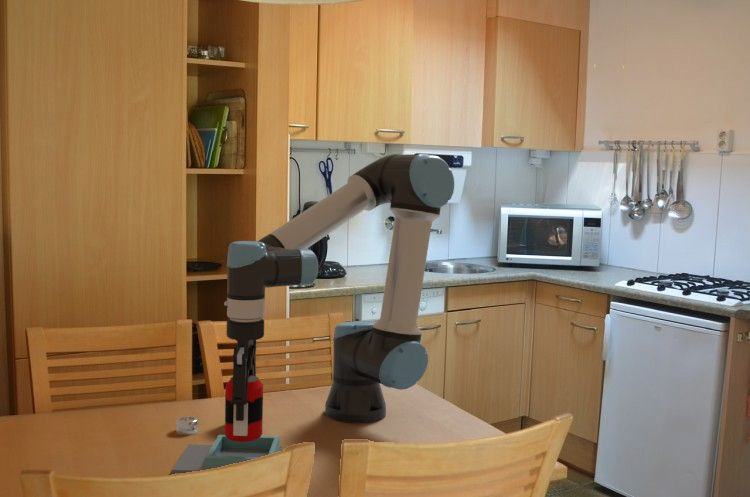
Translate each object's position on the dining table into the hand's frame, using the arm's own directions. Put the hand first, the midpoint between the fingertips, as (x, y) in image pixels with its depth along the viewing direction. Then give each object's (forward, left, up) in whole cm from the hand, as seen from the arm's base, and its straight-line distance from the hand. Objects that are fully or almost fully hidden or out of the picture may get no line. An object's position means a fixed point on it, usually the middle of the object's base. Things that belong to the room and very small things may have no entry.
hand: (243, 427), depth 161 cm
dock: (+3, 0, -7) cm, 8 cm away
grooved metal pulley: (+16, -18, -8) cm, 25 cm away
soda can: (0, 0, -2) cm, 2 cm away
